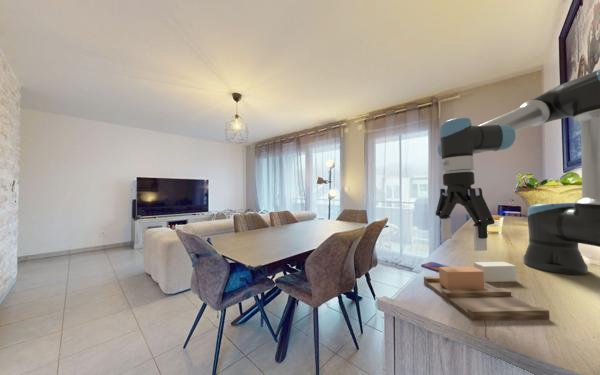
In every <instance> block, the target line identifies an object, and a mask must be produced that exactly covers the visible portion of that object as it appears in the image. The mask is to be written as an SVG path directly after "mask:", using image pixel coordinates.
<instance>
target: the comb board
mask: <svg viewBox="0 0 600 375" xmlns="http://www.w3.org/2000/svg"><path fill="white" fill-rule="evenodd" d="M423 283H424V284H425V285H426V286H427V285H428V286H427V287H429V288H430V289H431V290H432V289H433V290H432V291H434V292H435V293H436V294H437V295H439V296H440V297H441V296H442V297H441V298H442V299H444V300H445V301H446V302H448V303H449V304H450V305H452V306H453V307H454V308H456V309H457V310H458V311H460V312H461V313H462V314H464V316H466V317H467V318H469V319H470V320H471V321H473V322H474V321H476V322H478V321H530V320H532V321H533V320H534V321H537V320H539V321H540V320H543V321H544V320H550V319H551V318H550V310H549V309H547V308H545V307H543V306H533V305H531V304H529V303H527V302H525V301H523V300H521V299H519V298H517V297H516V296H513V295H512V291H510V290H508V289H506V288H503V287H501V288H497V287H496V286H494V285H491V284H489V282H484V289H447V288H445V287H444V286H442V285H441V284H440V279H439V275H438V276H433V275H432V276H423Z"/></svg>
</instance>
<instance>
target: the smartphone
mask: <svg viewBox="0 0 600 375" xmlns="http://www.w3.org/2000/svg"><path fill="white" fill-rule="evenodd" d="M420 265H421V268H425V269H427V270H431V271H434V272H437V273H439V267H451V265H450V266H449V265H445V264H443V263H442V264H441V263H437V262H435V261H430V262H426V263H422V264H420Z"/></svg>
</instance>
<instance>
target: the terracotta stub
mask: <svg viewBox="0 0 600 375" xmlns="http://www.w3.org/2000/svg"><path fill="white" fill-rule="evenodd" d="M438 276H439V279H440V284H441V285H442V286H444V287H445V288H447V289H484V273H483V271H481V270H479V269H477V268H475V267H474V266H450V267H439V272H438Z"/></svg>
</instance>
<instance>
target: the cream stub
mask: <svg viewBox="0 0 600 375" xmlns="http://www.w3.org/2000/svg"><path fill="white" fill-rule="evenodd" d="M473 267H475V268H477V269H479V270H481V271H483V273H484V282H486V283H495V282H496V283H497V282H502V283H503V282H504V283H505V282H517V266H516V265H514V264H511V263H510V262H506V261H480V262H476V261H475V262H474V261H473Z"/></svg>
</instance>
